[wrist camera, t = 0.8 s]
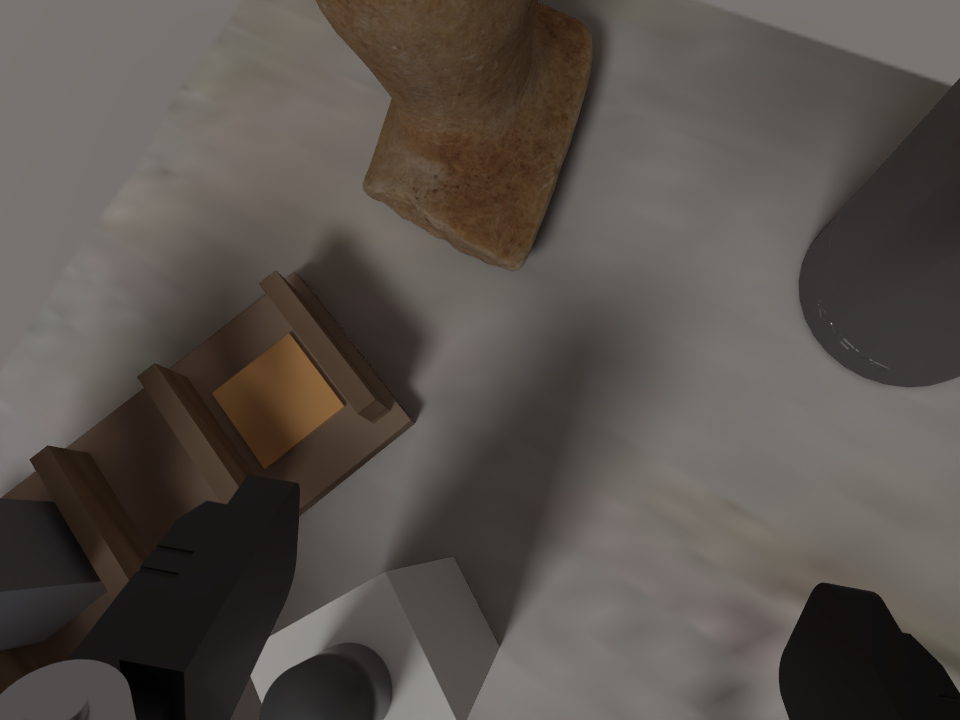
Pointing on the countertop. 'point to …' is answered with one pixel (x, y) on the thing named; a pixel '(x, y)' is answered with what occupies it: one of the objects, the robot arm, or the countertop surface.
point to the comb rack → (211, 442)
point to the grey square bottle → (40, 573)
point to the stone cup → (470, 113)
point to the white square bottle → (382, 652)
